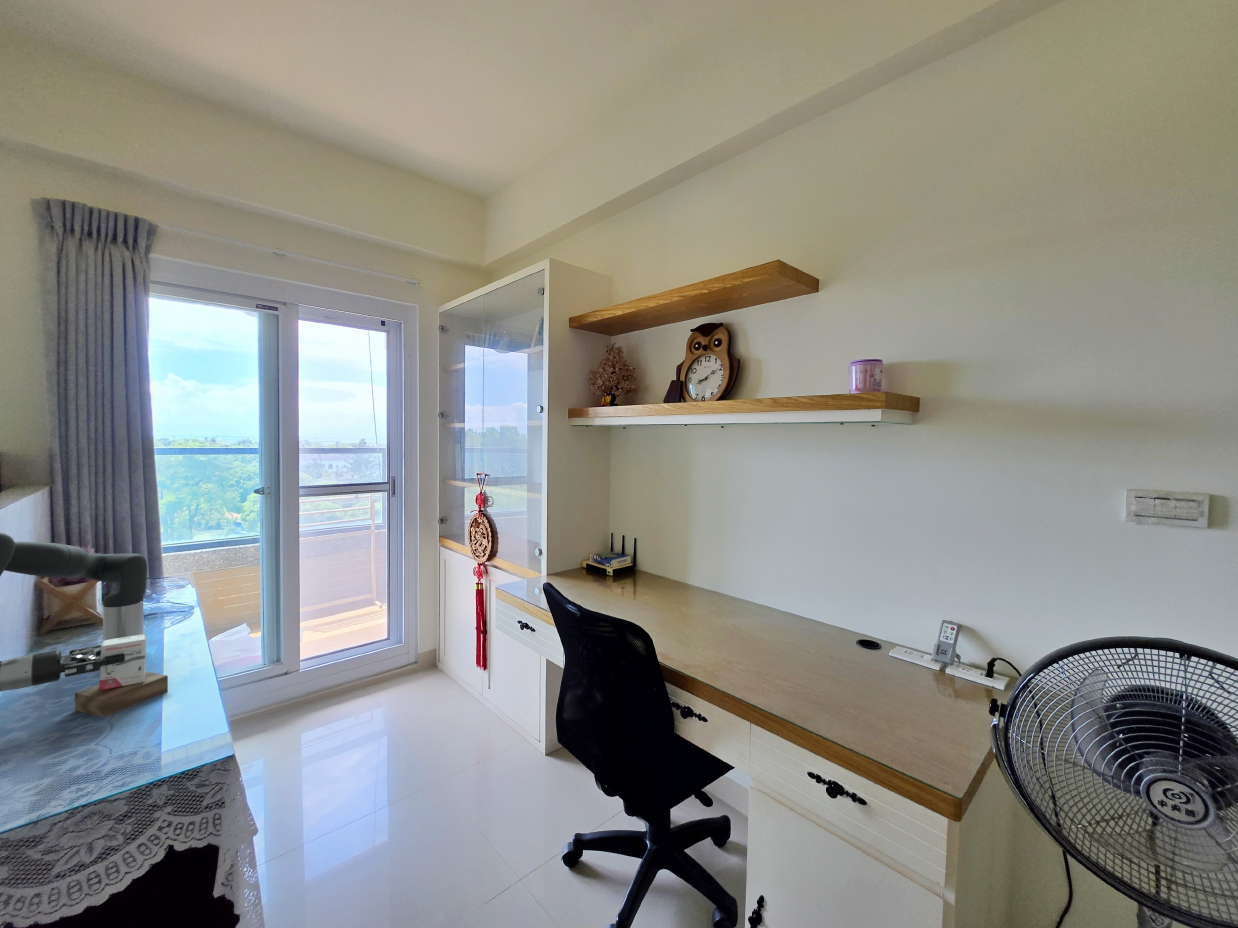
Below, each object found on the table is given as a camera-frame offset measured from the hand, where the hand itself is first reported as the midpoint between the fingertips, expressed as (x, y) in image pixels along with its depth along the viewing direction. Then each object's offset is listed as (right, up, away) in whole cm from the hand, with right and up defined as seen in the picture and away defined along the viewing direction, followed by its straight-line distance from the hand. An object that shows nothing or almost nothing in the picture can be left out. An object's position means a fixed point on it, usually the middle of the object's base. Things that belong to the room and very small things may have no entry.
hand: (125, 652), depth 133 cm
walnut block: (0, -14, 0) cm, 14 cm away
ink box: (0, -9, 0) cm, 9 cm away
